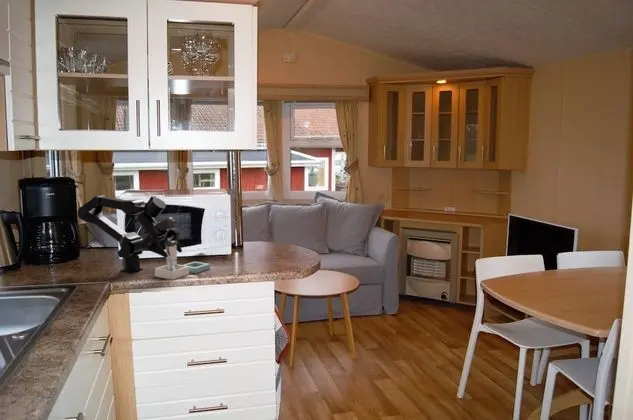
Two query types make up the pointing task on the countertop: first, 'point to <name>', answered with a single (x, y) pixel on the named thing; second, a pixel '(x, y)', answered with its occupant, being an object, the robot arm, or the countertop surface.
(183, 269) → the tray
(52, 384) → the countertop surface
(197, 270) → the collar
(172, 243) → the salt shaker
